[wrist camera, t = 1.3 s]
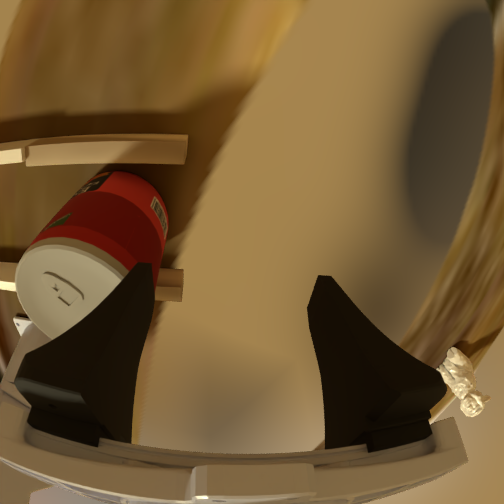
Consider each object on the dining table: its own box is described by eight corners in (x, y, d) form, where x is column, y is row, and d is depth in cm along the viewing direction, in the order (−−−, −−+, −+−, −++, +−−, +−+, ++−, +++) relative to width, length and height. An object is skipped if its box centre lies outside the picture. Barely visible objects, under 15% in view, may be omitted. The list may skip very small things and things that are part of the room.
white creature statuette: (451, 344, 40) (484, 400, 30) (477, 342, 42) (508, 391, 32) (420, 380, 45) (446, 434, 35) (448, 376, 47) (473, 423, 37)
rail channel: (183, 282, 27) (181, 301, 25) (62, 275, 25) (52, 291, 23) (188, 134, 20) (185, 142, 18) (40, 138, 18) (24, 146, 16)
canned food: (101, 149, 20) (26, 215, 11) (189, 201, 23) (176, 297, 14) (66, 227, 23) (7, 316, 13) (144, 270, 26) (120, 373, 17)
